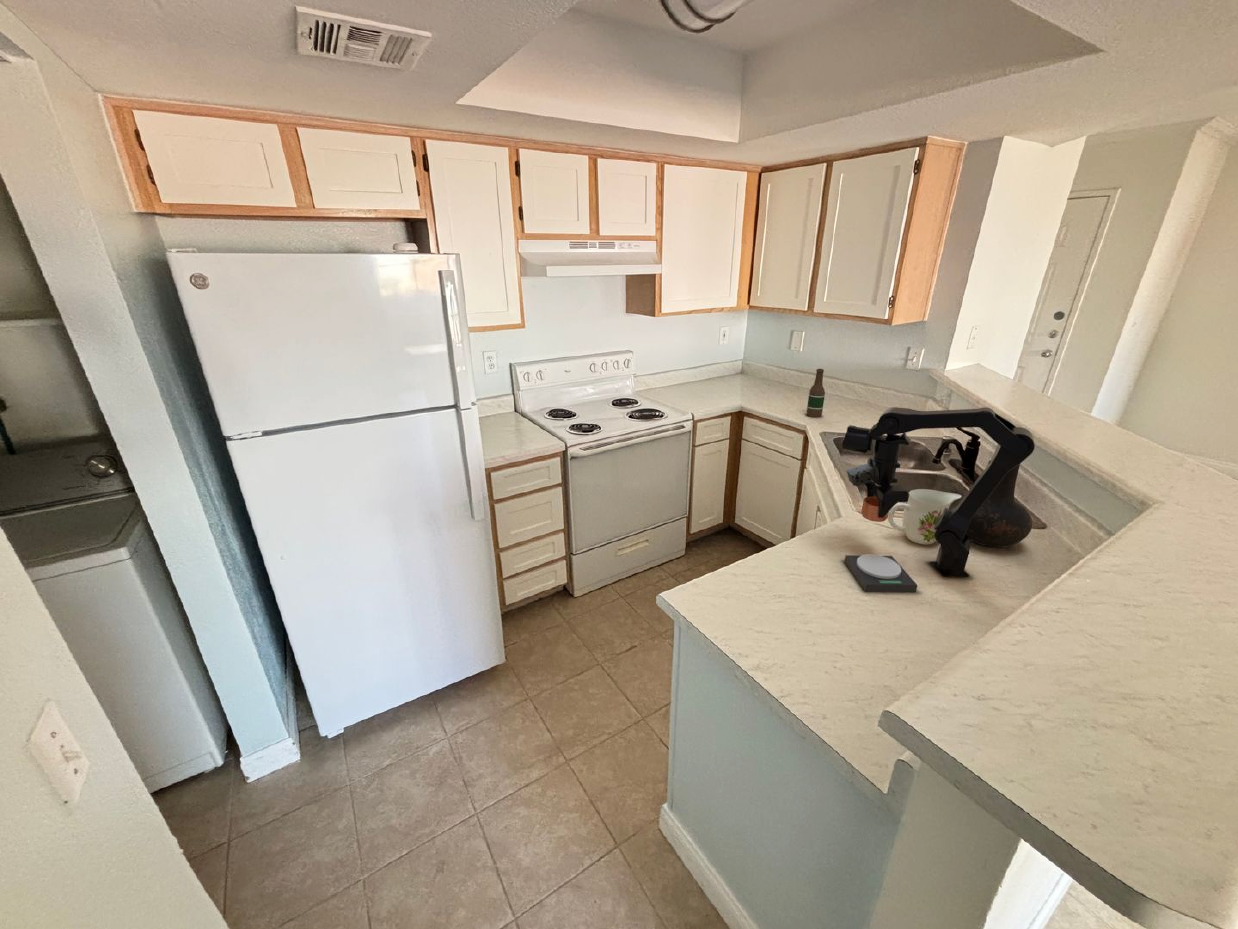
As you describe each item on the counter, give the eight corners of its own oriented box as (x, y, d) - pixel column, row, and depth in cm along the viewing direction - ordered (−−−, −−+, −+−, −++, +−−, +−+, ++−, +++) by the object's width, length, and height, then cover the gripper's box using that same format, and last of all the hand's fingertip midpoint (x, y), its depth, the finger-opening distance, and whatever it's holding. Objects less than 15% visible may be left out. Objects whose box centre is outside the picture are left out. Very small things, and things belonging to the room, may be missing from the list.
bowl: (891, 522, 132) (894, 507, 130) (866, 522, 132) (869, 506, 130) (881, 511, 137) (884, 496, 136) (857, 511, 138) (859, 496, 136)
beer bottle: (819, 418, 253) (826, 371, 244) (803, 416, 258) (809, 369, 249) (823, 415, 259) (830, 368, 250) (808, 412, 264) (814, 367, 255)
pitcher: (876, 528, 149) (884, 486, 143) (939, 529, 147) (950, 487, 142) (892, 547, 138) (902, 503, 133) (960, 549, 137) (972, 504, 132)
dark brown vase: (933, 531, 146) (957, 441, 136) (973, 519, 153) (998, 432, 143) (997, 562, 131) (1029, 463, 121) (1038, 547, 138) (1071, 451, 128)
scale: (915, 592, 120) (918, 582, 119) (864, 591, 120) (866, 581, 119) (890, 562, 132) (892, 553, 131) (844, 561, 132) (845, 552, 131)
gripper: (840, 445, 138) (832, 496, 143) (867, 470, 120) (857, 528, 126) (882, 445, 137) (872, 496, 143) (915, 471, 120) (903, 528, 125)
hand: (875, 511), depth 134 cm, fingers closed on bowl, 6 cm apart
